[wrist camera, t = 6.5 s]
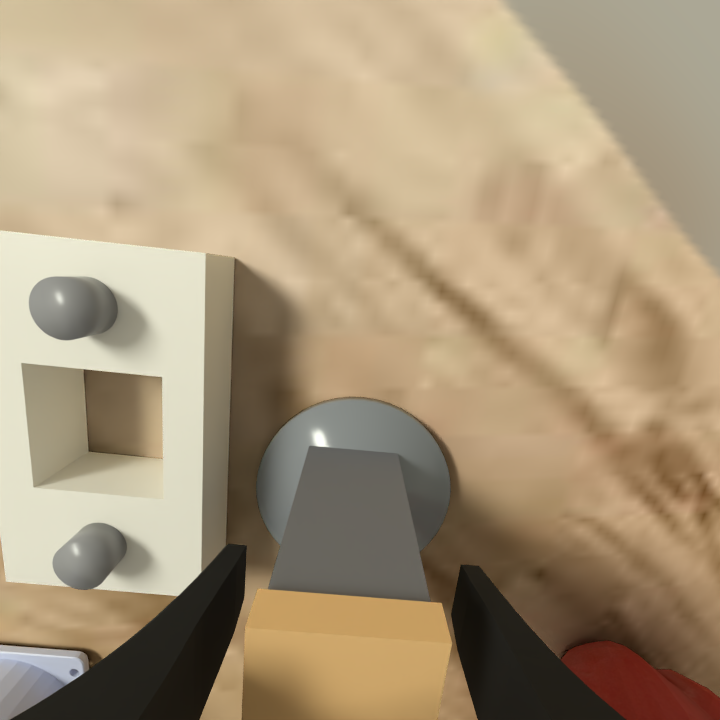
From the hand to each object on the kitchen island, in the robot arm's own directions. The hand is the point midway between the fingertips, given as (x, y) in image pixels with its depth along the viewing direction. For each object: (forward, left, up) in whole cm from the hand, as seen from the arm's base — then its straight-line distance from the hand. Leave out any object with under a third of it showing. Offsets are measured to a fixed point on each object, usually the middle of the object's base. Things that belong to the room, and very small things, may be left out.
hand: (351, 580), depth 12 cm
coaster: (0, 0, -6) cm, 6 cm away
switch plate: (+3, +10, -6) cm, 12 cm away
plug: (0, 0, -5) cm, 5 cm away
